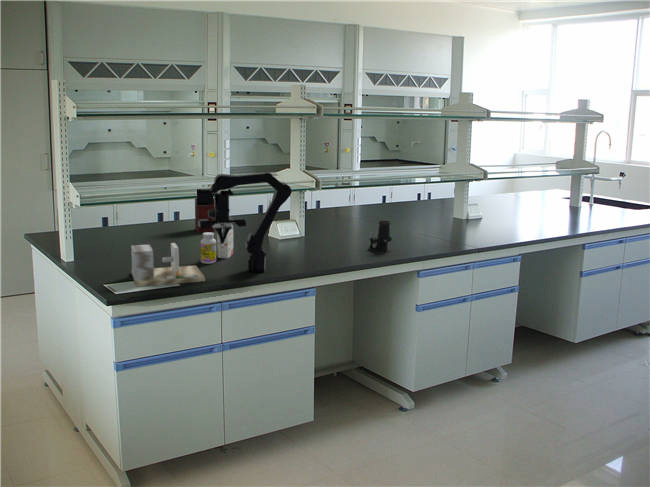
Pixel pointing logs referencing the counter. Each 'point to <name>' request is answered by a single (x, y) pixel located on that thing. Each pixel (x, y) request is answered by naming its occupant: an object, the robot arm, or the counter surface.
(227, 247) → the ink cartridge box
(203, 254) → the supplement bottle
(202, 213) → the toy vending machine
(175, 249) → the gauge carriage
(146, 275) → the gauge frame
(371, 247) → the scope
